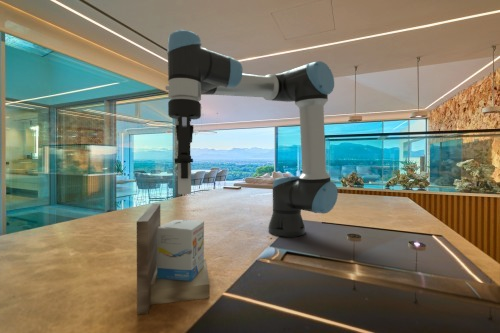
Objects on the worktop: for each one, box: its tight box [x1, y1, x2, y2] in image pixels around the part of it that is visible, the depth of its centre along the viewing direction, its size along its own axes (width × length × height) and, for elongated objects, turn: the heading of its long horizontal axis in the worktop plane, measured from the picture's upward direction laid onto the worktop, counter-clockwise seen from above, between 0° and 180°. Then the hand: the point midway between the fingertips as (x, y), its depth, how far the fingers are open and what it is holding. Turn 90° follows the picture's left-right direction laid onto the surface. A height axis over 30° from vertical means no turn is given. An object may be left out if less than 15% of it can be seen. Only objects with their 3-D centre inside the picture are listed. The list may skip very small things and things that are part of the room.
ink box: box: [157, 219, 205, 281], centre depth 60 cm, size 9×8×12 cm
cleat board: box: [136, 203, 211, 316], centre depth 59 cm, size 14×20×18 cm
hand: (185, 190), depth 60 cm, fingers open, 13 cm apart
